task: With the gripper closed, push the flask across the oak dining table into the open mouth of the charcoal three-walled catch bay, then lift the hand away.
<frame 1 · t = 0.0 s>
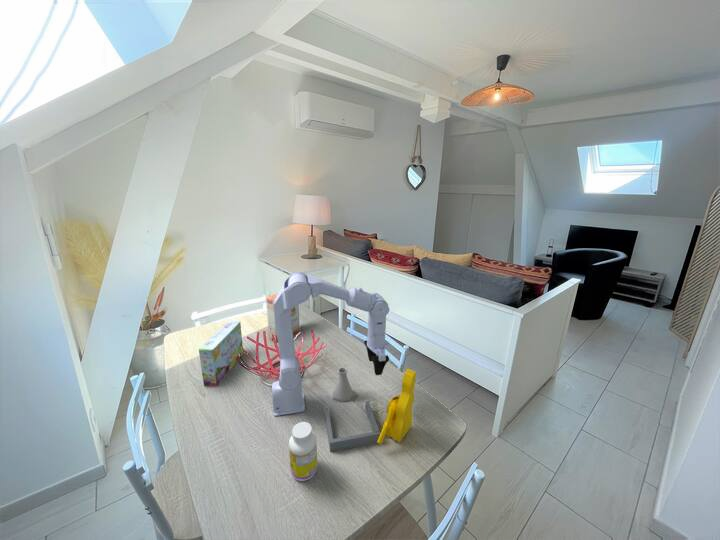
hand: (375, 367, 95), 10 cm above the table, fingers open, 7 cm apart
supplement bottle: (304, 470, 71), on the table
flask: (342, 395, 97), on the table
snack box: (225, 368, 110), on the table
cracker box: (285, 335, 134), on the table
figure statuette: (398, 433, 82), on the table
catch bay: (350, 427, 84), on the table
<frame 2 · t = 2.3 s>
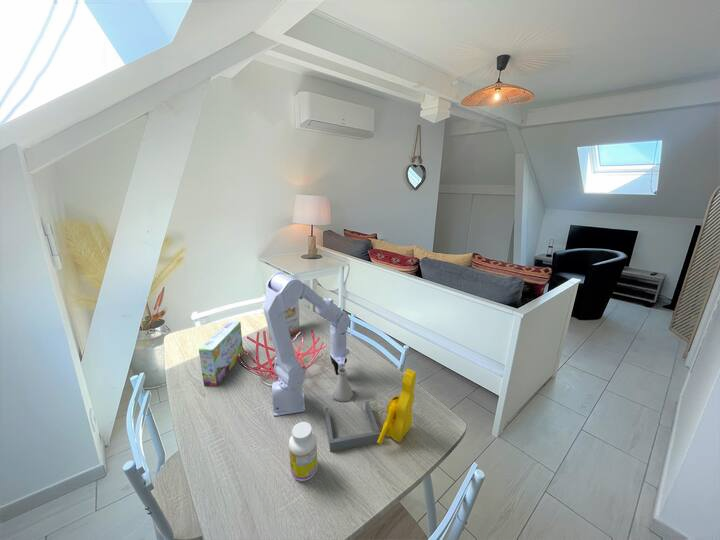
hand: (338, 373, 105), 2 cm above the table, fingers closed
nothing on the table moved.
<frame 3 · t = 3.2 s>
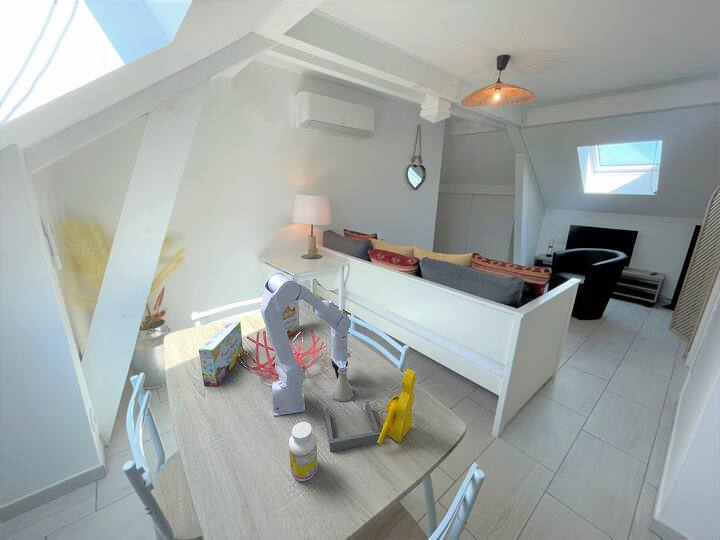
hand: (339, 377, 103), 2 cm above the table, fingers closed
nothing on the table moved.
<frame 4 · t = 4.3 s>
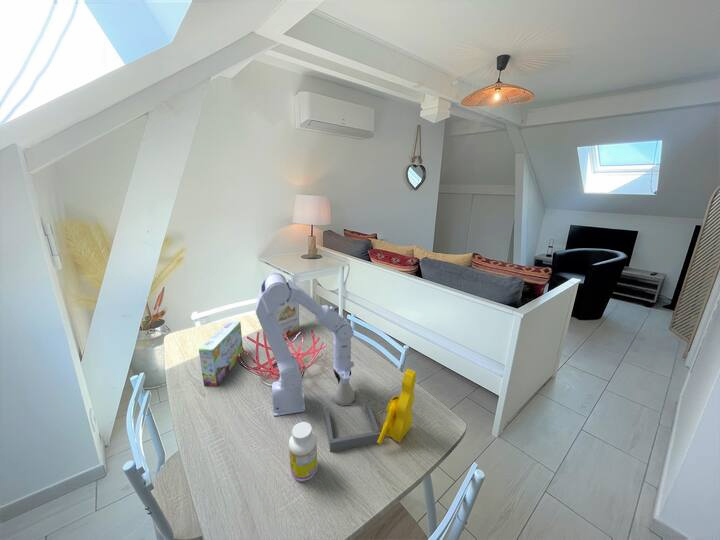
hand: (342, 387, 97), 2 cm above the table, fingers closed, pressing on flask
flask: (344, 398, 95), on the table, touching gripper
everything else where it was.
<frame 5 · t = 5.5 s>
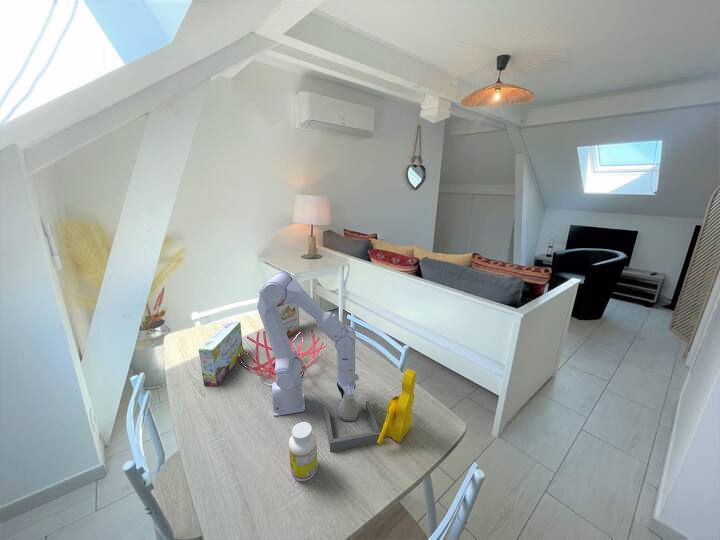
hand: (346, 401, 91), 2 cm above the table, fingers closed, pressing on flask
flask: (348, 412, 89), on the table, touching gripper
everything else where it was.
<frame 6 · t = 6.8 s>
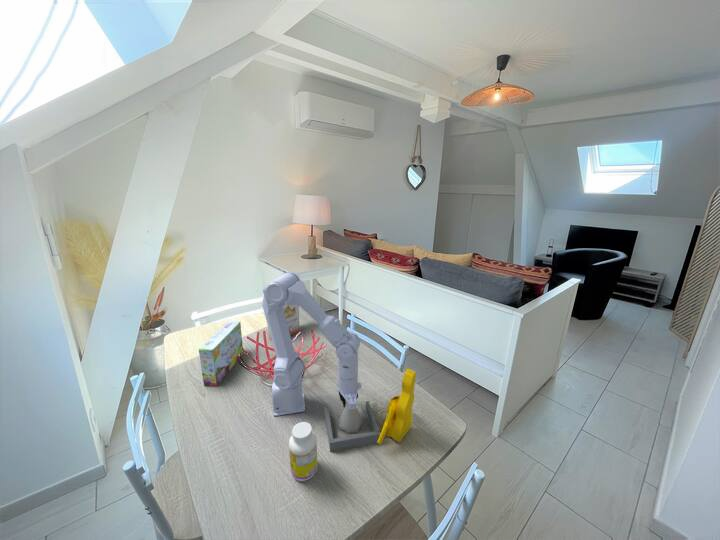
hand: (348, 410, 87), 2 cm above the table, fingers closed
flask: (350, 423, 85), on the table, touching gripper
everything else where it was.
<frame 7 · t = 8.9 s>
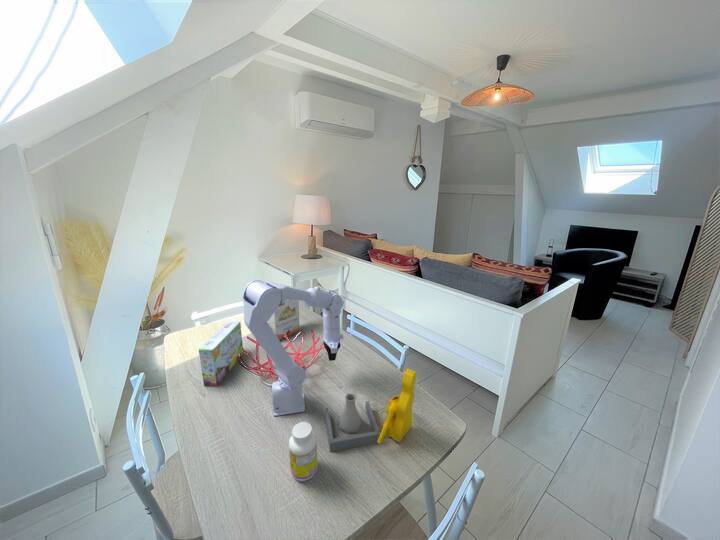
hand: (332, 359, 101), 9 cm above the table, fingers closed
flask: (350, 424, 85), on the table
everything else where it was.
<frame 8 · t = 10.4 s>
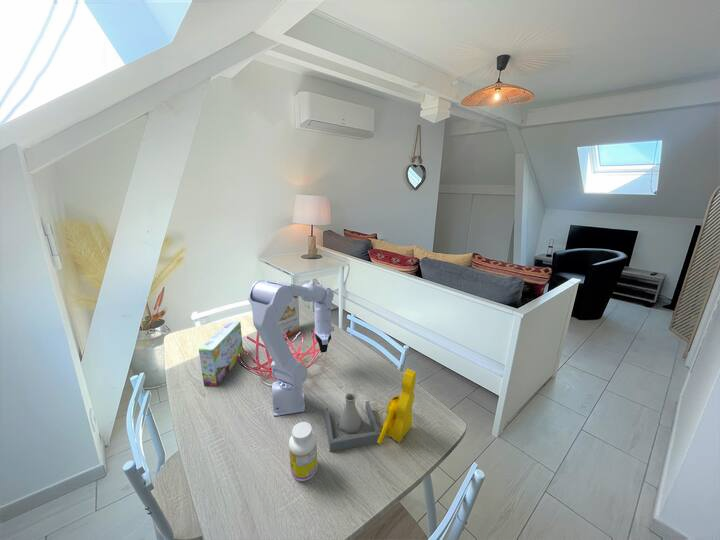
hand: (323, 351, 105), 9 cm above the table, fingers closed
nothing on the table moved.
at the end: flask inside the target area on the catch bay (2.4 cm from its centre), point 0.0 cm above the catch bay's base; flask tilted 0°; flask moved 12.6 cm from its start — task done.
